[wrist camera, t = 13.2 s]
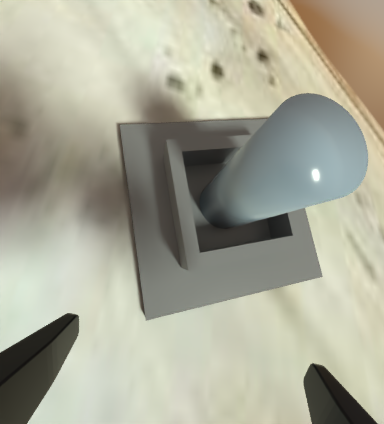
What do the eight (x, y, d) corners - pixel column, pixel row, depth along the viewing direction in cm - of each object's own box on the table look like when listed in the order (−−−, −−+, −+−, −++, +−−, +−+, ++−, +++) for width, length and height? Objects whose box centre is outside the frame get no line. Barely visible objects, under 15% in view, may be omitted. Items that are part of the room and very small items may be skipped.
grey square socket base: (145, 317, 17) (145, 334, 13) (120, 129, 19) (114, 100, 16) (315, 275, 21) (352, 280, 17) (277, 122, 23) (301, 98, 19)
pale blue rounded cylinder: (204, 232, 18) (285, 205, 8) (195, 181, 19) (259, 93, 8) (252, 224, 19) (380, 192, 9) (242, 177, 20) (351, 93, 9)
